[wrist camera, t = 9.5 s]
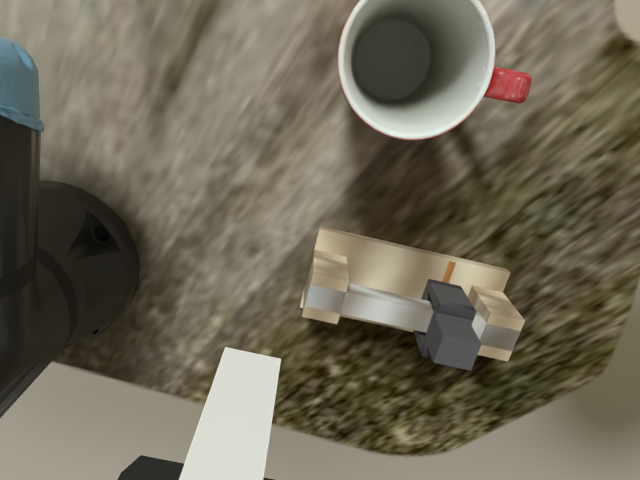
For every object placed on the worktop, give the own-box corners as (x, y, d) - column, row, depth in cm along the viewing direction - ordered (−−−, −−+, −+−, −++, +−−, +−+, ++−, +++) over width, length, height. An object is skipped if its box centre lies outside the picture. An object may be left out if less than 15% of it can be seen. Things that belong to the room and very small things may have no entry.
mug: (320, 100, 42) (318, 116, 30) (351, -15, 39) (364, -52, 27) (461, 141, 43) (518, 174, 31) (502, 32, 40) (584, 18, 28)
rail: (300, 302, 49) (296, 338, 42) (319, 225, 46) (318, 251, 40) (478, 341, 50) (500, 382, 43) (506, 268, 47) (535, 300, 41)
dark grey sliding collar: (412, 326, 46) (428, 376, 39) (428, 278, 44) (448, 320, 37) (443, 333, 46) (465, 384, 39) (460, 286, 45) (487, 329, 37)
